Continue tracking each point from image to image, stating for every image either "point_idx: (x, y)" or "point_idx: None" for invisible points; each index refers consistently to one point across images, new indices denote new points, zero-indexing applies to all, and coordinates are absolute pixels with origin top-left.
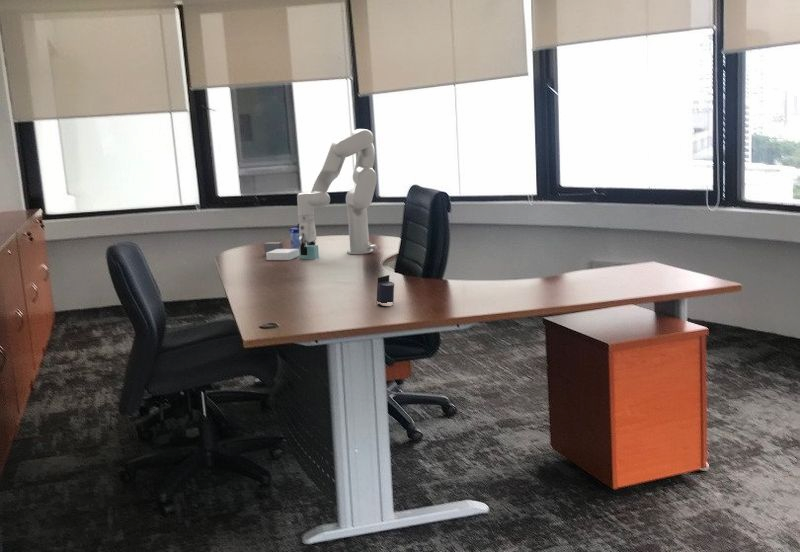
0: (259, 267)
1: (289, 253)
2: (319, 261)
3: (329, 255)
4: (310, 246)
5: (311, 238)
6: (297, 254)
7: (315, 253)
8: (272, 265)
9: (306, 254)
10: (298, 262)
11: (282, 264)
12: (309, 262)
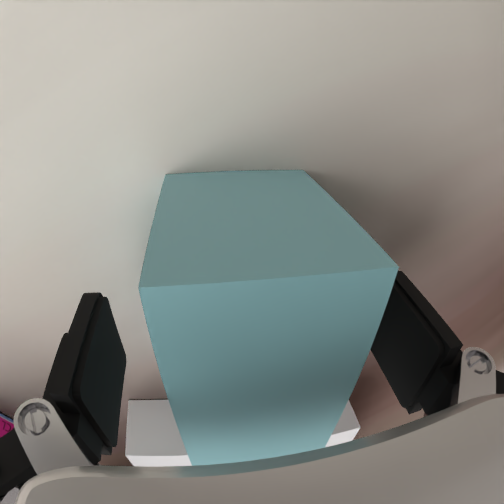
0: (496, 361)
1: (339, 424)
2: (468, 58)
3: (14, 96)
4: (342, 356)
5: (445, 498)
6: (170, 415)
7: (298, 196)
8: (484, 346)
9: (401, 278)
10: (467, 254)
11: (485, 317)
12: (494, 152)
